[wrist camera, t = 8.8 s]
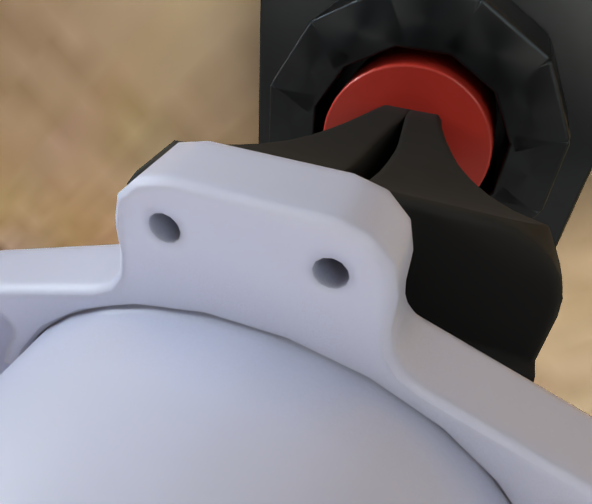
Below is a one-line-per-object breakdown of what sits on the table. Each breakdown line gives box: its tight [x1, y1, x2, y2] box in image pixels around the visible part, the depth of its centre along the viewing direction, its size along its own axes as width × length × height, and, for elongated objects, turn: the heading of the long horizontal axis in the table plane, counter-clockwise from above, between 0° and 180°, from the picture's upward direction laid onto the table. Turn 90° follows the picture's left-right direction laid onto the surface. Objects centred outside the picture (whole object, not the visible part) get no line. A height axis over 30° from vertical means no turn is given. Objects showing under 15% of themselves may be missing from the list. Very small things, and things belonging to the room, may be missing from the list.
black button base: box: [259, 0, 592, 248], centre depth 14 cm, size 9×8×3 cm
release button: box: [323, 47, 497, 187], centre depth 13 cm, size 4×4×2 cm
